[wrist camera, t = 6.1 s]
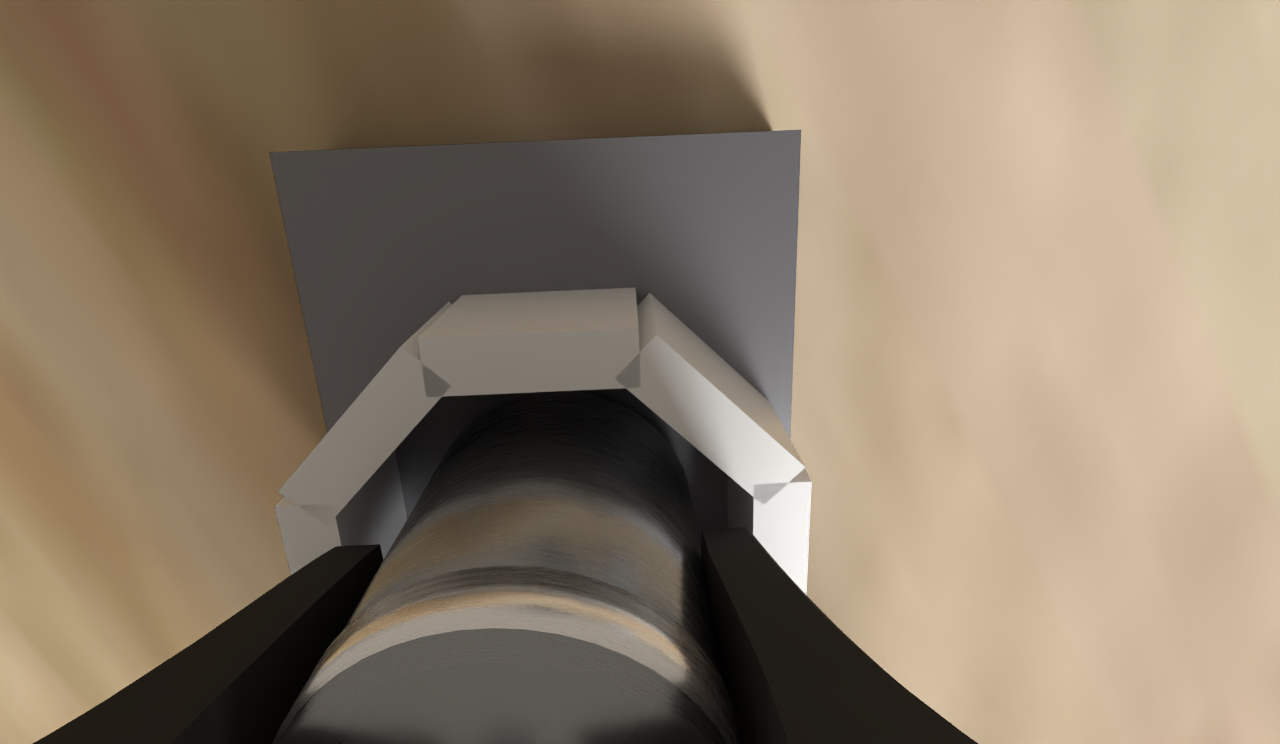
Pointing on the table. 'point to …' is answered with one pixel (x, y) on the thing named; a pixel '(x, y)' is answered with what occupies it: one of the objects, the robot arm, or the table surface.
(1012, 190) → the table surface
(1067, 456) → the table surface
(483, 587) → the lens
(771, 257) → the camera body
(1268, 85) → the table surface
